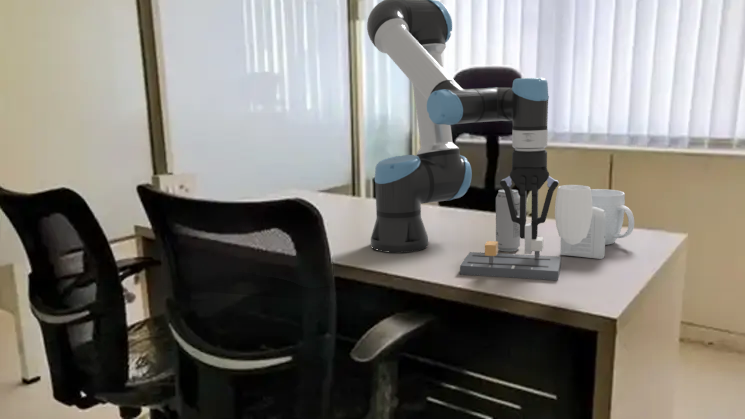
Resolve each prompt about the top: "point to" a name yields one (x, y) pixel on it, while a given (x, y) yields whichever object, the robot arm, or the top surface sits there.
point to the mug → (613, 212)
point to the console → (512, 266)
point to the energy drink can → (507, 223)
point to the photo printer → (589, 239)
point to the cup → (573, 212)
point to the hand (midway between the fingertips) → (528, 252)
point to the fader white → (537, 246)
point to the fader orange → (491, 250)
